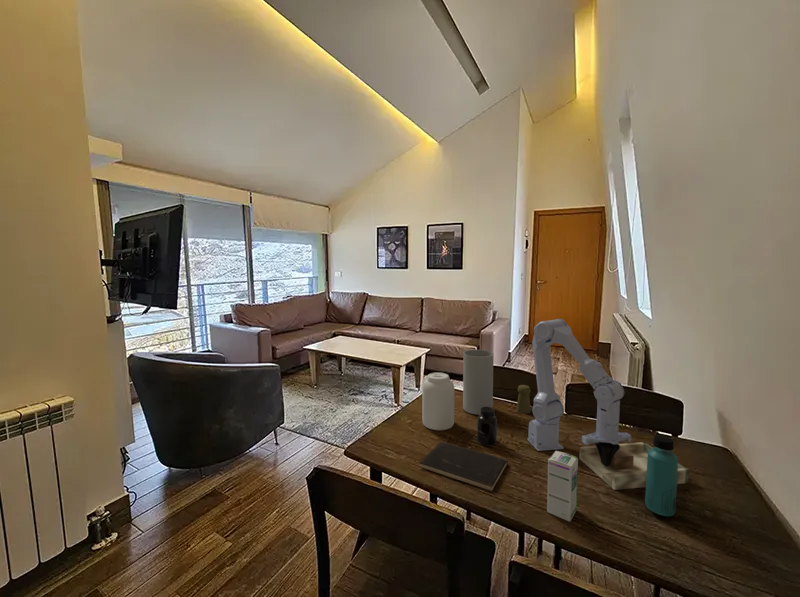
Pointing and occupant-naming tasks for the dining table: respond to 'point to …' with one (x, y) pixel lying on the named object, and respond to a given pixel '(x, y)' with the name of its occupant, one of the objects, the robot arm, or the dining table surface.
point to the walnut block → (622, 460)
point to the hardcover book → (465, 465)
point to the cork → (523, 400)
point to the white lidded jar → (438, 402)
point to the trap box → (625, 476)
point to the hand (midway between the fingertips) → (605, 464)
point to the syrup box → (562, 485)
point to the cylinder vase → (477, 380)
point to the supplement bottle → (487, 426)
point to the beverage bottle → (661, 477)
